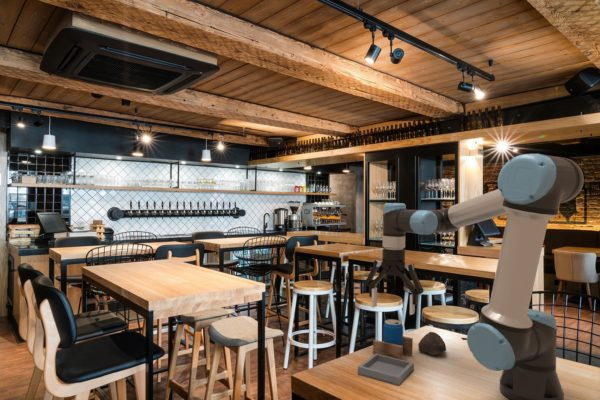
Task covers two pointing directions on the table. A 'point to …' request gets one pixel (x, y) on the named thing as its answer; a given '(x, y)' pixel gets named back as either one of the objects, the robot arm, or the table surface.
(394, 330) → the beverage can
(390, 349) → the cradle
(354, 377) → the table surface
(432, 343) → the stone
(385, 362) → the tray
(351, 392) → the table surface
